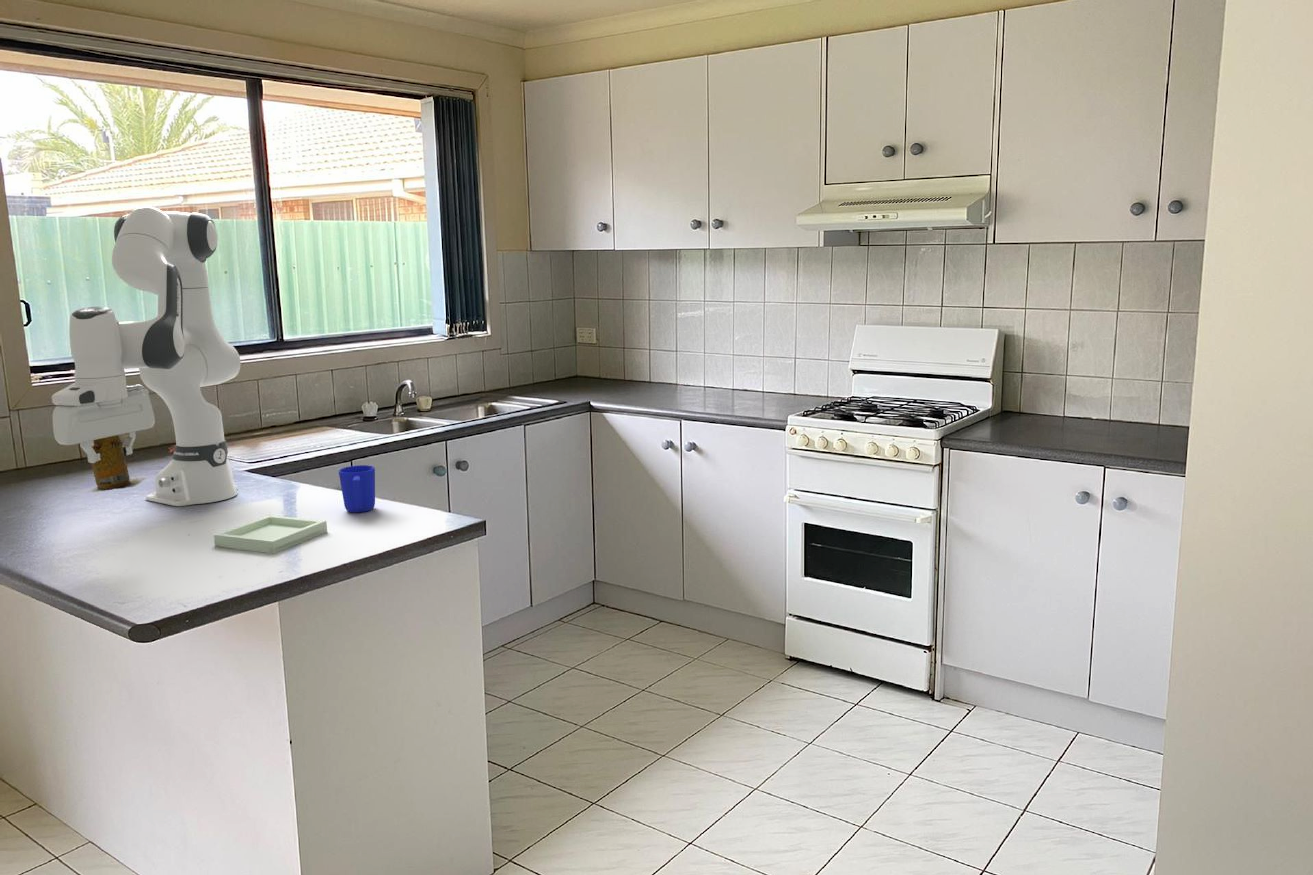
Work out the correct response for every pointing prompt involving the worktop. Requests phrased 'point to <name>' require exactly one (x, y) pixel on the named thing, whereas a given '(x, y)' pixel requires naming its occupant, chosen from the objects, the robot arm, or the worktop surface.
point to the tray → (270, 534)
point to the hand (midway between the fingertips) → (111, 458)
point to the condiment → (111, 465)
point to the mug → (358, 487)
